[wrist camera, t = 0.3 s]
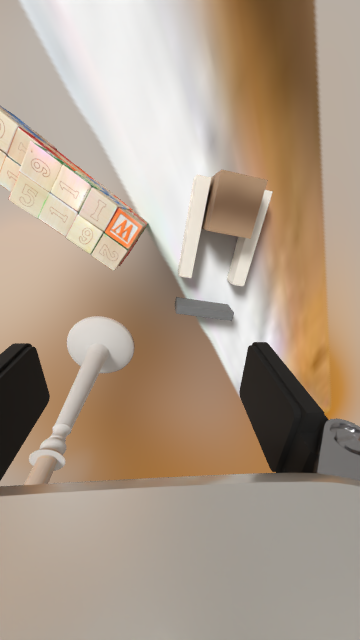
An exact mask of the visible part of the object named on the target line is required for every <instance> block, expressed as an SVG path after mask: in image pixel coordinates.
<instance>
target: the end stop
mask: <svg viewBox="0 0 360 640" xmlns="http://www.w3.org/2000/svg"><path fill="white" fill-rule="evenodd" d="M175 310H176V313H178V314H185V315H193V316H200V317H208V318H215V319H223V320H230V321H232V318H233V315H234V312H233V311H232V310H231V308H230V307H229V305H227V304H220V303H213V302H206V301H199V300H192V299H185V298H178V297H176V301H175Z"/></svg>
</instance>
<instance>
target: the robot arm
mask: <svg viewBox="0 0 360 640" xmlns="http://www.w3.org/2000/svg"><path fill="white" fill-rule="evenodd" d="M49 397H50V396H49V391H48V388H47V384H46V381H45V378H44V374H43V371H42V367H41V364H40V360H39V357H38V353H37V350H36V348H35V347H32V345H31V344H12V345H11V346H10V347H8V348H7V349H6V350H5V351H4V352H3V353H1V354H0V480H1V479H2V477H3V476H4V474H5V472H6V470H7V469H8V467H9V466H10V464H11V463H12V461H13V459H14V458H15V456H16V454H17V453H18V451H19V450H20V448H21V446H22V445H23V443H24V441H25V440H26V438H27V436H28V435H29V433H30V432H31V430H32V428H33V427H34V425H35V423H36V422H37V420H38V419H39V417H40V415H41V414H42V412H43V410H44V409H45V407H46V405H47V404H48V401H49ZM240 398H241V400H242V403H243V405H244V407H245V410H246V412H247V415H248V417H249V419H250V421H251V424H252V426H253V429H254V431H255V434H256V436H257V438H258V440H259V443H260V445H261V448H262V450H263V453H264V455H265V457H266V460H267V462H268V464H269V467H270V469H271V470H272V471H273V472H276V473H263V474H262V473H260V474H233V475H211V476H189V477H168V478H148V479H128V480H108V481H90V482H71V483H53V484H36V485H19V486H1V487H0V640H360V427H359V426H357V425H355V424H354V423H351V422H349V421H346V420H342V419H330V420H328V419H327V417H326V416H325V415H324V412H323V411H322V409H321V408H320V407H319V406H318V404H317V403H316V402H315V401H314V400H313V398H312V397H311V396H310V395H309V393H308V392H307V391H306V390H305V388H304V387H303V386H302V385H301V384H300V382H299V381H298V380H297V379H296V377H295V376H294V375H293V374H292V372H291V371H290V370H289V369H288V368H287V366H286V365H285V364H284V363H283V361H282V360H281V359H280V358H279V356H278V355H277V354H276V353H275V352H274V350H273V349H272V348H271V347H270V345H269V344H268V343H266V342H254V343H253V344H252V346H249V347H248V352H247V357H246V362H245V367H244V372H243V377H242V382H241V387H240Z"/></svg>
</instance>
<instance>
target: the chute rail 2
mask: <svg viewBox="0 0 360 640" xmlns="http://www.w3.org/2000/svg"><path fill="white" fill-rule="evenodd" d="M272 192H273V191H268V190H265V191H264V195H263V198H262V201H261V205H260V208H259V212H258V215H257V219H256V222H255V225H254V229H253V232H252V236H251V239H249V238H243V237H238V240H237V243H236V247H235V251H234V254H233V258H232V262H231V266H230V269H229V273H228V277H227V280H228V281H229V282H230V283H231V284H232V285H238V286H244V284H245V281H246V277H247V274H248V271H249V268H250V264H251V261H252V258H253V254H254V251H255V248H256V245H257V241H258V238H259V235H260V231H261V228H262V225H263V222H264V218H265V215H266V212H267V208H268V205H269V202H270V199H271V195H272Z"/></svg>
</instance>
